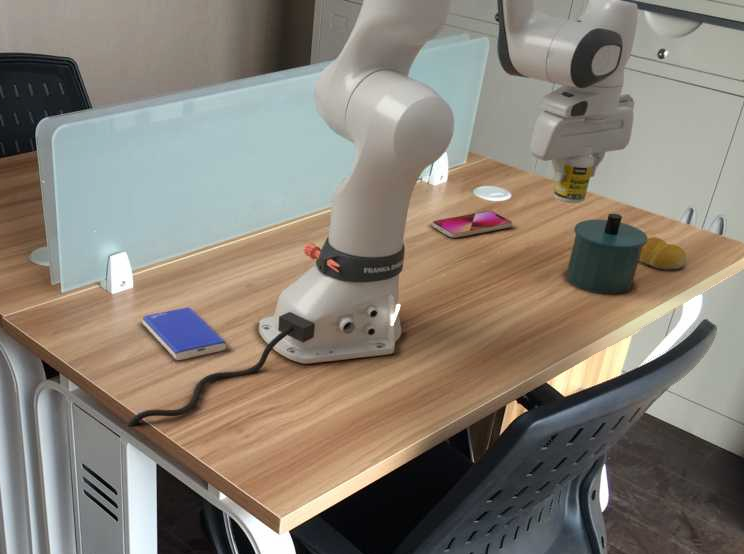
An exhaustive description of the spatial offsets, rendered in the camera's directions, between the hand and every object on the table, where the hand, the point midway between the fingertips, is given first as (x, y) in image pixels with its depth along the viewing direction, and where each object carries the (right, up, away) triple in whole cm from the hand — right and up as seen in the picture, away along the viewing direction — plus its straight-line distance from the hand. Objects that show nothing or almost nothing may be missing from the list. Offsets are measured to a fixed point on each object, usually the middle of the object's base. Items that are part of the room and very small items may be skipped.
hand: (573, 178), depth 168 cm
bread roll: (+19, -13, +9) cm, 25 cm away
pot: (+5, -18, 0) cm, 19 cm away
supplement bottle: (0, -3, +2) cm, 4 cm away
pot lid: (+5, -11, -4) cm, 13 cm away
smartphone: (-13, -5, +19) cm, 24 cm away
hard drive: (-67, -30, -23) cm, 77 cm away
